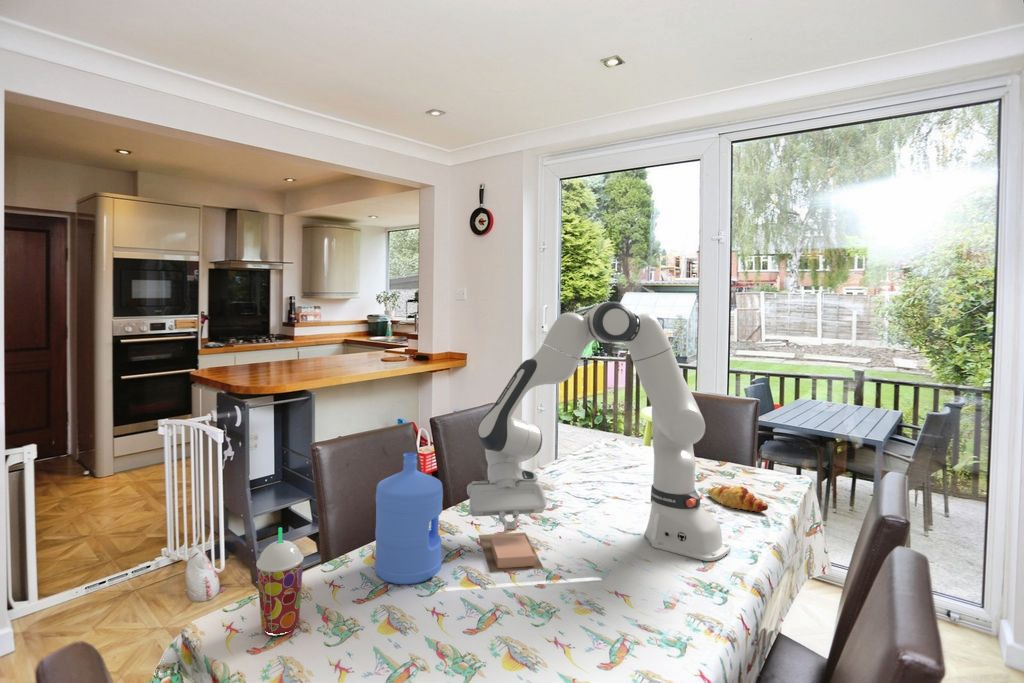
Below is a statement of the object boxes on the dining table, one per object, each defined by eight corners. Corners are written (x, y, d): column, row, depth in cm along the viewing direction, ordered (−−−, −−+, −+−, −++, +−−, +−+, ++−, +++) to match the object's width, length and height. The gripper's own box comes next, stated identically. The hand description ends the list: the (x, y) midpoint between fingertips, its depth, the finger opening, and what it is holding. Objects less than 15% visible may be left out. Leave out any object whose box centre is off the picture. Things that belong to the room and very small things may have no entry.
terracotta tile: (490, 537, 144) (497, 558, 132) (524, 535, 146) (534, 556, 134) (490, 547, 144) (497, 569, 132) (524, 545, 146) (534, 566, 134)
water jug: (384, 592, 122) (385, 467, 120) (368, 561, 136) (369, 449, 134) (451, 577, 129) (453, 459, 127) (429, 550, 143) (430, 443, 141)
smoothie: (266, 616, 112) (265, 519, 110) (308, 615, 112) (308, 519, 111) (249, 642, 103) (249, 537, 102) (296, 641, 104) (296, 536, 103)
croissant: (702, 507, 189) (696, 489, 186) (717, 488, 194) (711, 470, 192) (763, 526, 173) (757, 506, 170) (777, 505, 178) (772, 486, 175)
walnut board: (478, 537, 152) (478, 534, 152) (525, 535, 154) (525, 532, 154) (490, 575, 131) (490, 571, 131) (543, 571, 133) (543, 568, 133)
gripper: (467, 476, 146) (471, 527, 137) (542, 473, 150) (551, 522, 141) (465, 487, 151) (468, 537, 142) (538, 484, 155) (546, 532, 146)
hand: (510, 529), depth 141 cm, fingers closed
